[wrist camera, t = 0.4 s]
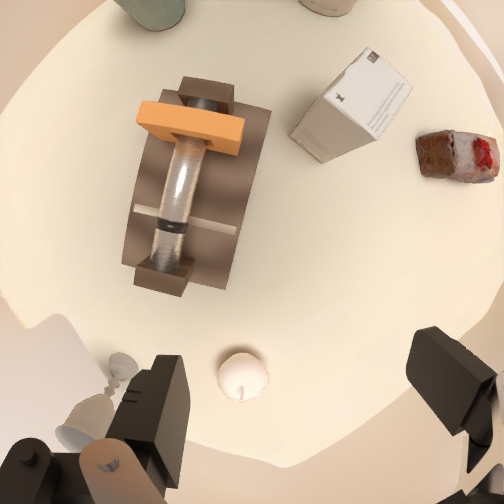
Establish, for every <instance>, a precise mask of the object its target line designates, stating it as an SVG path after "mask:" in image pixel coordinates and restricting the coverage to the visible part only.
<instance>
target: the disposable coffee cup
mask: <svg viewBox="0 0 504 504" xmlns="http://www.w3.org/2000/svg"><path fill="white" fill-rule="evenodd" d="M114 1H115V2H116V3H117V4H118V5H120V6H121V7H122V8H123V9H124V10H125V11H126V12H127V13H129V14H130V15H131V16H132V17H133V18H134V19H135V20H136V21H137V22H138V23H139V24H140V25H142V26H143V27H145V28H146V29H148V30H152V31H161V30H164V29H167V28H170V27H172V26H173V25H175V24H176V23H177V22H179V21H180V19H181V17H182V15H183V13H184V11H185V2H184V0H114Z"/></svg>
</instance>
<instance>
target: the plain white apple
mask: <svg viewBox="0 0 504 504" xmlns="http://www.w3.org/2000/svg"><path fill="white" fill-rule="evenodd" d="M217 381H218V386H219V388H220V389H221V391H222V392H223V394H224V395H225V396H226V397H227V398H229V399H232V400H236V401H239V402H242V401H248V400H252V399H255V398H257V397H259V396H260V395H261V394H262V393H263V392H264V390H265V389H266V387H267V385H268V382H269V373H268V370H267V368H266V366H265V365H264V364H263V363H262V362H261V361H260V360H258V359H257V358H256V357H254V356H253V355H251V354H249V353H237V354H234V355H232V356H231V357H230V358H229V359H227V360H226V361H225V362H224V363H223V364H222V365H221V367H220V369H219V371H218V376H217Z"/></svg>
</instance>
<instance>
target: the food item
mask: <svg viewBox="0 0 504 504" xmlns="http://www.w3.org/2000/svg"><path fill="white" fill-rule="evenodd" d="M416 141H417V152H418V155H419V161H420V168H421V173H422V175H424V176H425V177H433V178H454V179H456V180H458V181H461V182H466V183H473V184H475V183H489V182H492V181H494V178H495V177H496V176H497V175H498V172H499V169H500V153H499V149H498V146H497V142H496V139H494V138H491V137H487V136H483V135H480V134H474V133H468V132H455V131H454V130H450V131H449V130H444V131H440V132H434V133H430V134H427V135H424V136H422V137H419V138H418V139H417V140H416Z"/></svg>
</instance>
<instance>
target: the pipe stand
mask: <svg viewBox="0 0 504 504" xmlns="http://www.w3.org/2000/svg"><path fill="white" fill-rule="evenodd" d="M193 97H198V98H204V99H208V100H211V101H213V102H215V103H217V104H218V110H217V113H222V114H226V115H231V116H235V117H239V118H244V119H245V122H244V129H243V135H242V140H241V144H240V148H239V151H238V155H237V156H234V155H230V154H226V153H222V152H217V151H213V150H208V149H206V151H205V154H204V158H203V162H202V166H201V169H200V173H199V177H198V181H197V185H196V189H195V193H194V197H193V201H192V206H191V210H190V214H189V219H188V228H187V232H186V234H185V237H184V241H183V246H182V251H181V256H180V261H179V266H178V271H177V272H176V273H162V272H158V271H155V270H153V269H151V268H150V267H149V263H150V256H151V251H152V245H153V239H154V234H155V229H156V228H155V224H156V219H157V216H158V214H159V209H160V205H161V200H162V196H163V191H164V187H165V183H166V179H167V175H168V171H169V167H170V163H171V159H172V155H173V152H174V148H175V144H176V143H174V142H168V141H163V140H160V139H159V138H157V137H156V136H155V135H153V134H152V133H150V132H149V134H148V137H147V141H146V144H145V148H144V152H143V155H142V159H141V163H140V167H139V171H138V175H137V180H136V184H135V189H134V193H133V198H132V203H131V208H130V213H129V218H128V224H127V230H126V236H125V242H124V249H123V256H122V264H124V265H128V266H132V267H135V268H136V270H135V277H134V285H136V286H140V287H144V288H147V289H151V290H155V291H158V292H162V293H166V294H170V295H174V296H178V297H181V296H182V294H183V292H184V290H185V288H186V286H187V283H188V281H190V282H194V283H198V284H202V285H206V286H211V287H215V288H219V289H223V290H225V289H226V285H227V281H228V277H229V273H230V269H231V265H232V261H233V257H234V253H235V249H236V245H237V241H238V237H239V233H240V229H241V225H242V221H243V217H244V213H245V209H246V205H247V201H248V198H249V194H250V190H251V186H252V182H253V178H254V175H255V171H256V167H257V163H258V160H259V156H260V152H261V148H262V145H263V141H264V137H265V134H266V130H267V126H268V123H269V119H270V115H271V112H272V111H270V110H267V109H263V108H259V107H255V106H251V105H247V104H243V103H239V102H234V85H231V84H226V83H221V82H216V81H210V80H205V79H199V78H192V77H185V76H183V79H182V82H181V85H180V87H179V90H178V91H173V90H166V89H163V90H162V93H161V96H160V99H159V102H158V103H165V104H172V105H179V106H185V107H187V105H188V102H189V99H190V98H193Z"/></svg>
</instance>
